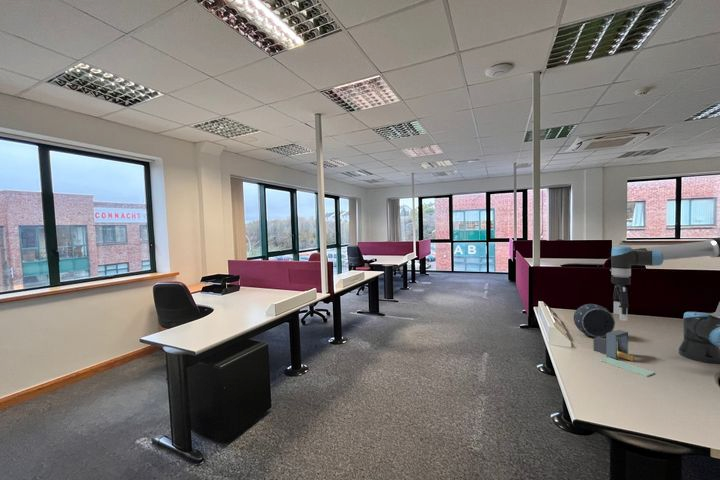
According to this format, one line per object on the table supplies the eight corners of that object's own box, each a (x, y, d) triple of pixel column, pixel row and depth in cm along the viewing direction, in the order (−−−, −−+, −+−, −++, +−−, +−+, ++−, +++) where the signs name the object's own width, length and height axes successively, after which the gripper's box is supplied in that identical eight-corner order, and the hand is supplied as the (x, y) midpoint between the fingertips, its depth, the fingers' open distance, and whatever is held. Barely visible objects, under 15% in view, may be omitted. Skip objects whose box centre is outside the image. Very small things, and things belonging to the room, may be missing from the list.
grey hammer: (598, 349, 161) (598, 336, 161) (635, 360, 147) (635, 346, 147) (593, 350, 159) (593, 338, 159) (630, 362, 145) (630, 348, 145)
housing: (618, 352, 156) (618, 329, 156) (628, 355, 152) (628, 332, 152) (606, 356, 151) (606, 333, 151) (615, 359, 148) (615, 335, 147)
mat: (608, 358, 149) (608, 357, 149) (654, 373, 133) (654, 372, 133) (600, 361, 147) (600, 359, 147) (646, 376, 130) (646, 375, 130)
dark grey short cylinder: (617, 340, 174) (617, 307, 173) (580, 338, 178) (580, 306, 177) (606, 334, 184) (606, 303, 184) (571, 332, 188) (571, 302, 188)
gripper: (606, 272, 162) (605, 310, 162) (616, 279, 141) (616, 322, 141) (624, 273, 158) (623, 312, 158) (637, 280, 137) (637, 324, 137)
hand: (620, 317), depth 150 cm, fingers open, 13 cm apart
